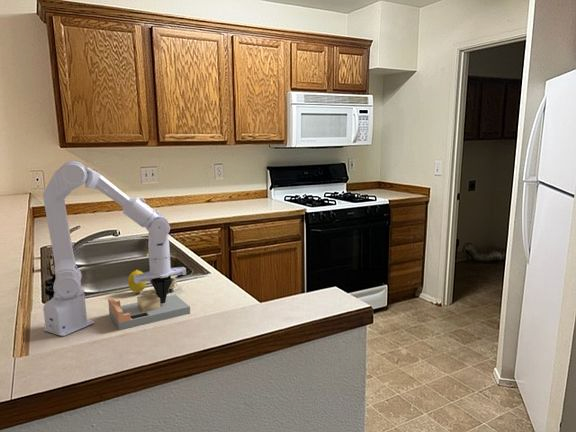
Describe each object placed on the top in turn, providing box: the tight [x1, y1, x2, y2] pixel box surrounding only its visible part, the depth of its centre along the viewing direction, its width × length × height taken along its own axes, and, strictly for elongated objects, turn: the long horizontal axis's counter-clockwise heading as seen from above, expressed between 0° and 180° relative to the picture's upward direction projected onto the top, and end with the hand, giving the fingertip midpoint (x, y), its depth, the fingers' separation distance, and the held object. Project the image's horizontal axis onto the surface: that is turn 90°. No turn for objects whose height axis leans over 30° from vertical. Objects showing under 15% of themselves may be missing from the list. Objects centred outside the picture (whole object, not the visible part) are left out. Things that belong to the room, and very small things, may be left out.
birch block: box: [136, 292, 161, 312], centre depth 120 cm, size 5×5×3 cm
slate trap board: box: [108, 294, 191, 331], centre depth 121 cm, size 20×12×2 cm, turn 124°
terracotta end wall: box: [107, 297, 131, 323], centre depth 116 cm, size 3×12×3 cm, turn 34°
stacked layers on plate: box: [167, 275, 179, 293], centre depth 140 cm, size 10×9×6 cm
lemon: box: [127, 269, 147, 294], centre depth 137 cm, size 6×6×8 cm
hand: (162, 302), depth 123 cm, fingers closed
